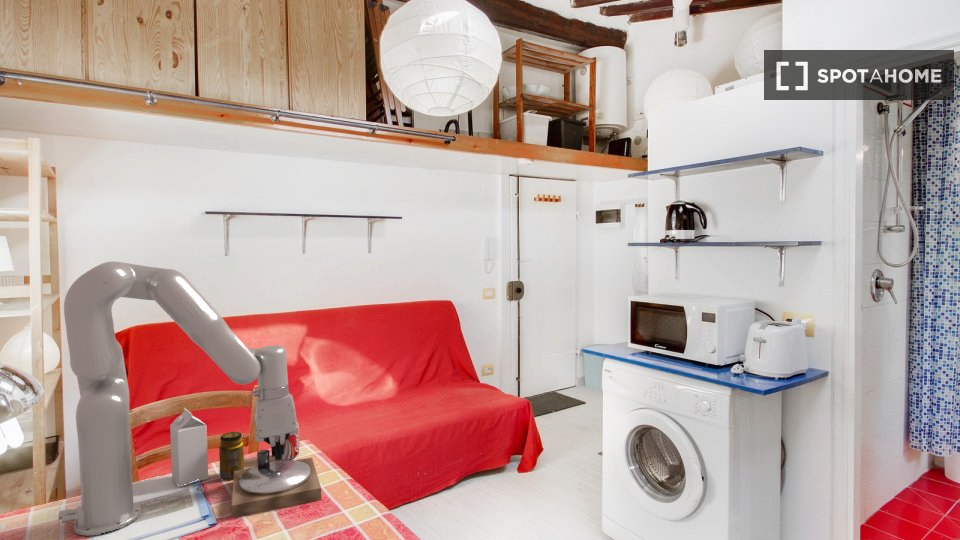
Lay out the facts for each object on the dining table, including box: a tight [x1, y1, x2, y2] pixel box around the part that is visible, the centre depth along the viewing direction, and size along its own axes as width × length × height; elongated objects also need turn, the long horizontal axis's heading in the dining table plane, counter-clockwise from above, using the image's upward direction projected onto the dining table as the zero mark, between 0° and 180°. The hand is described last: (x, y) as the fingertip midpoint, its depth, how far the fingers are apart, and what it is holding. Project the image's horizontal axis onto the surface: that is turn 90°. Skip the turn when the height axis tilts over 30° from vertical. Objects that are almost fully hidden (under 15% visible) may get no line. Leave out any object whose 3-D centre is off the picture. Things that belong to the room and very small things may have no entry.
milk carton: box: [169, 407, 209, 486], centre depth 137 cm, size 7×7×19 cm
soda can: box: [274, 418, 300, 461], centre depth 151 cm, size 7×7×12 cm
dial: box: [240, 449, 310, 495], centre depth 131 cm, size 17×17×5 cm
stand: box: [231, 457, 322, 519], centre depth 131 cm, size 20×20×4 cm
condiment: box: [218, 431, 245, 481], centre depth 139 cm, size 7×8×12 cm
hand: (278, 457), depth 138 cm, fingers closed
